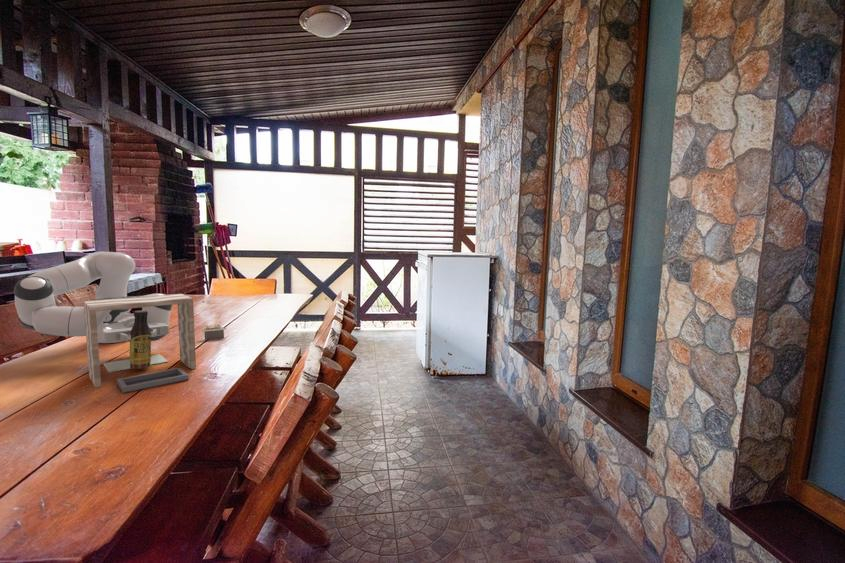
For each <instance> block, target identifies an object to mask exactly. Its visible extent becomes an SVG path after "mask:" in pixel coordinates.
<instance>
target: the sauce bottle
mask: <svg viewBox="0 0 845 563" xmlns="http://www.w3.org/2000/svg"><path fill="white" fill-rule="evenodd" d="M133 314H134V317H135V322H134V326H133V328H132V330H131V332H130V335H131V340H130V342H129V359H130V368H132V370H141V369H148V368H149V367H150V366H151V365H150V362H151V356H152V355H151V354H152V341H151V332H150V328H149V326H148V324H147V315H148V312H147V311H142V310H135V311H133Z"/></svg>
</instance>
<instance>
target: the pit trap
mask: <svg viewBox="0 0 845 563" xmlns="http://www.w3.org/2000/svg"><path fill="white" fill-rule="evenodd" d="M185 380H186V381H189V374H188V373H187V372H186V371H184V369H182V368H181V367H176V368H169V369H164V370H159V371H153V372H149V373H143V374H137V375H131V376H127V377H121V378H116V385H117V387H118V388H119V389H120V391H121V392H122V394H126V393H132V391H133V392H136V391H141V390H147V389H152V388H156V387H162V386H166V384H167V385H170V384H171V383H172V384H175V383H176V382H177V383H180V381H182V382H186V381H185Z"/></svg>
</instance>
